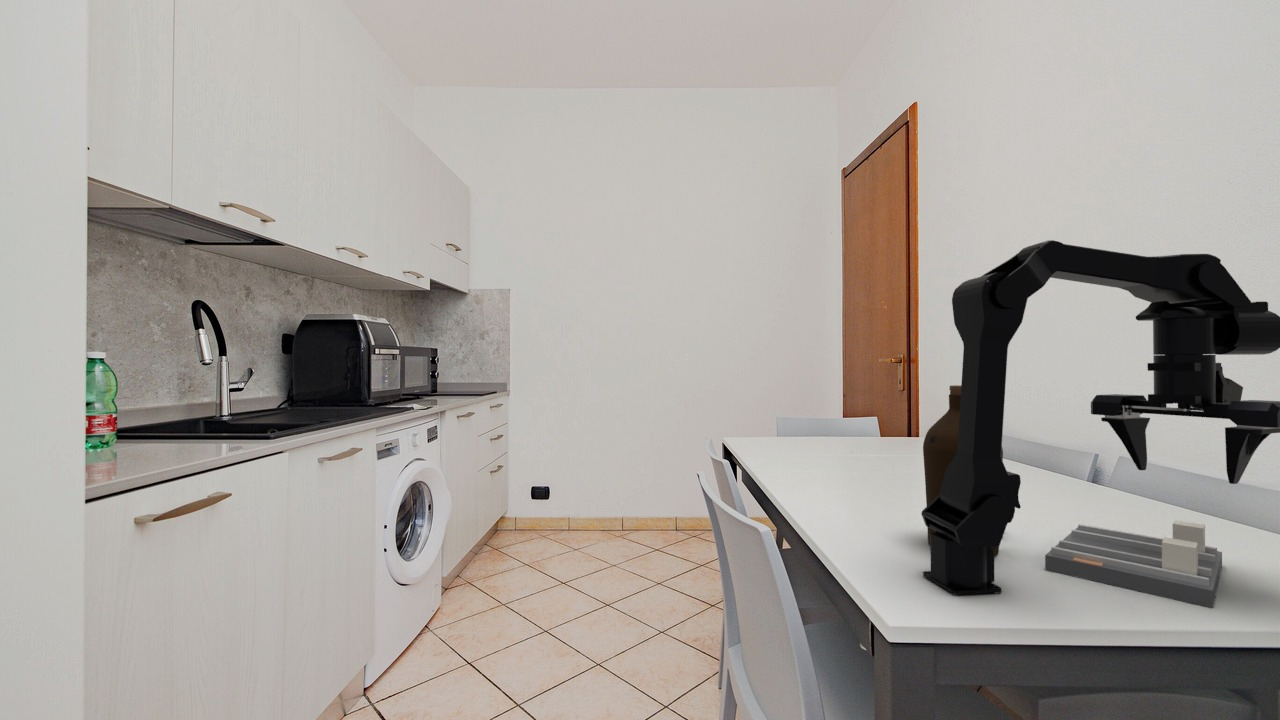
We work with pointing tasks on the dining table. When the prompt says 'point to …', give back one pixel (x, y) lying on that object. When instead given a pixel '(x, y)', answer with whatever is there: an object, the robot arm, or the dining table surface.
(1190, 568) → the tab near
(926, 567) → the dining table surface
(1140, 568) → the switch panel
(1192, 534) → the tab far
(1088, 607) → the dining table surface
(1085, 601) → the dining table surface
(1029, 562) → the dining table surface
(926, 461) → the olive oil
